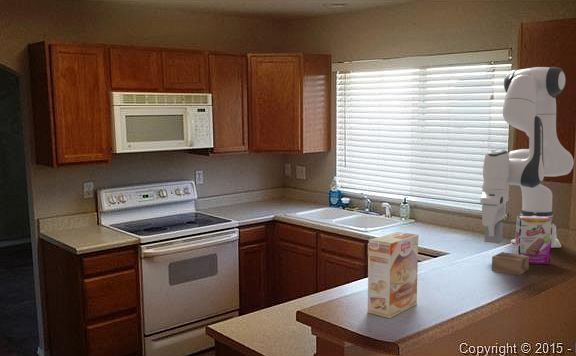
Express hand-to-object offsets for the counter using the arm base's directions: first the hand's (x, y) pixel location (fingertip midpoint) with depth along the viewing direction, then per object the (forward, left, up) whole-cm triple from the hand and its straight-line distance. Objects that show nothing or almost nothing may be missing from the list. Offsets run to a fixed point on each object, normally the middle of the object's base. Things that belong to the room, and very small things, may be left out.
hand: (493, 234), depth 201 cm
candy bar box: (-5, +12, -10) cm, 17 cm away
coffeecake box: (+68, -13, -10) cm, 70 cm away
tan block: (+10, +7, -10) cm, 16 cm away
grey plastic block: (0, 0, -3) cm, 3 cm away
